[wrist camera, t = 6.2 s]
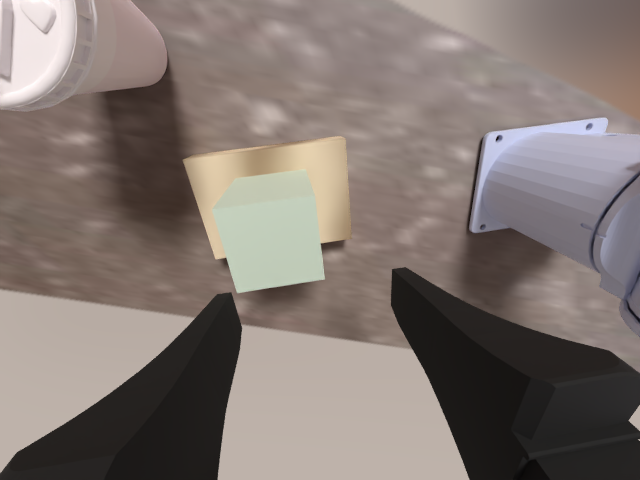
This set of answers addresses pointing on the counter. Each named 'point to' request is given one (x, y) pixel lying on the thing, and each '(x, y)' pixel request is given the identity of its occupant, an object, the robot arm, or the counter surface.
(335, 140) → the oak slab
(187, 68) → the counter surface
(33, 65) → the smoothie
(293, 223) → the sage block
